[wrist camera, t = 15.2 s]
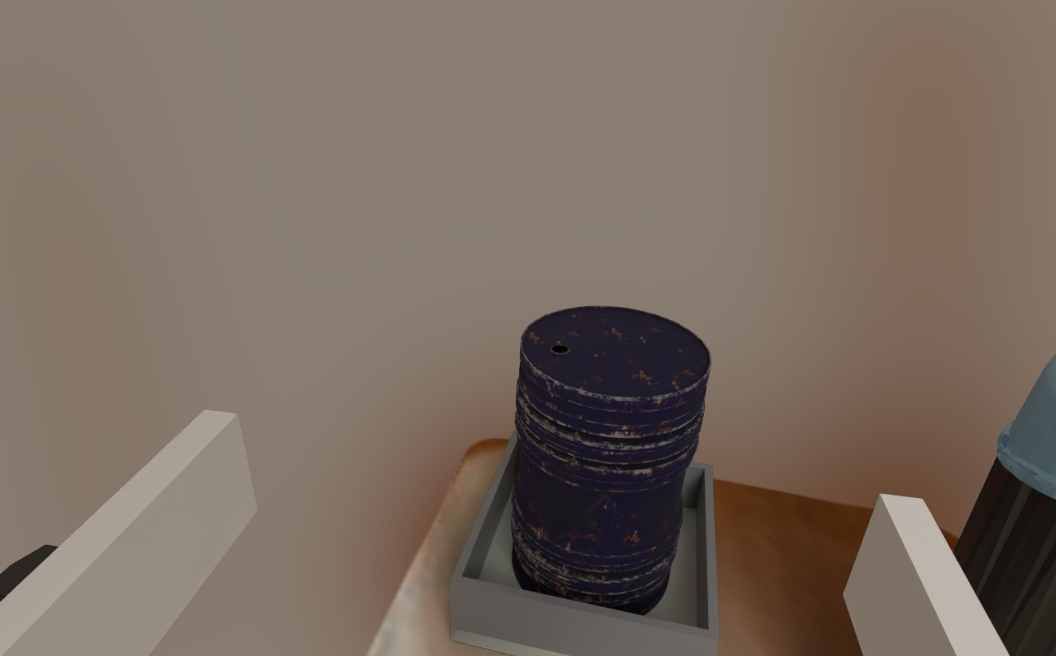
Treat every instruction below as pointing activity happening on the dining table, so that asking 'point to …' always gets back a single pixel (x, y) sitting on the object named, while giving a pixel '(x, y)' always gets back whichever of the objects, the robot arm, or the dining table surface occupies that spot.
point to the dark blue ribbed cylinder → (604, 453)
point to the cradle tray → (574, 627)
